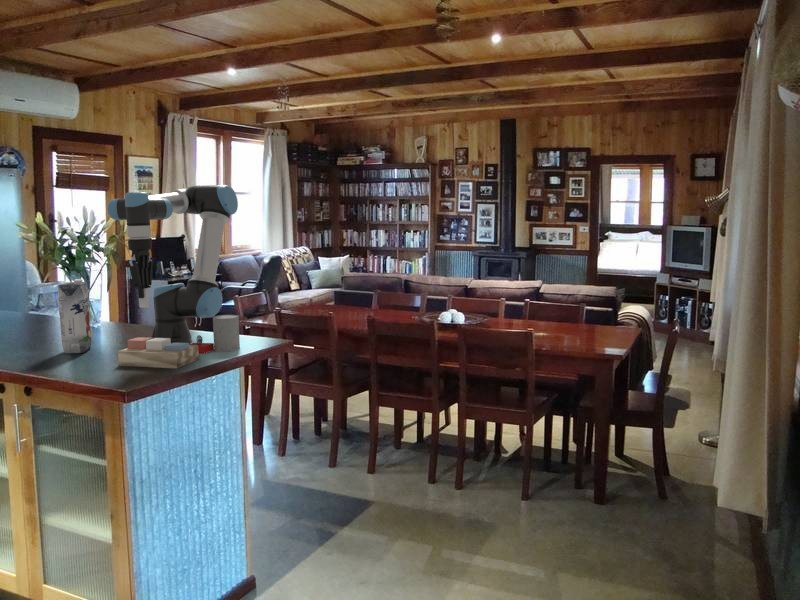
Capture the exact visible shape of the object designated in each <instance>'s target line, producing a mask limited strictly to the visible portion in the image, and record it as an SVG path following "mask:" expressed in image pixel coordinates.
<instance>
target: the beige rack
mask: <svg viewBox="0 0 800 600" xmlns="http://www.w3.org/2000/svg"><path fill="white" fill-rule="evenodd" d="M199 355H200V353H198V345H189V348H188V349H185V350H183V351H165V349H164V350H146V349H128V347H127V348H124V349H120V350H118V351H117V356H118V366H119V367H140V368H142V367H143V368H160V369H161V368H162V369H179V368H182V367H185V366H186V365H189V364H192V363H194V362H196V361H198V360H199V359H200V358H199Z"/></svg>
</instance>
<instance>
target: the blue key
mask: <svg viewBox="0 0 800 600" xmlns="http://www.w3.org/2000/svg"><path fill="white" fill-rule="evenodd" d="M189 344H190V342H189V343H171V344H168V345H165V351H183V350H185V349H188V348H189Z"/></svg>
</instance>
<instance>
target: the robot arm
mask: <svg viewBox="0 0 800 600" xmlns="http://www.w3.org/2000/svg"><path fill="white" fill-rule="evenodd" d="M238 207H239V202H238V197H237V194H236V192H235V190H234V189H233V187H231V186H230V185H227V184H213V185H212V184H209V185H208V184H207V185H206V184H205V185H193V186H188V187H183V188H178V189H173V190H171V191H170V192H167V193H160V194H151V195H149V193H148V192H146V191H142V192H140V191H134V192H126V193H125V194H124V198H119V197H118V198H113V199H110V201H109V202H108V204H107V213H108V216H109V217H110V219H112V220H115V221H126V231H127V233H126V234H127V238H129V239H128V240H127V247H128V248H127V249H128V251H131V259H128V260H127V261H126V262H127V265H128V267H129V271H130V272H129V273H130V275H131V276H130V277H131V281H132V285H133V288H134V289H135V290H136V289H137V294H138V307H139V308H141V309H142V308H143V309H144V308H146V309H147V308H150V304H149V303H150V302H149V288H151V287H152V282H153V269H154V268H153V266H154V261H155V258H154V257H152V256H150V254H151V253H150V250H152V248H153V246H152V245H153V243H152V239H151V237H152V231H151V230H152V229H151V228H152V227H151V221H155V220H160V221H163V220H167V219H169V218H170V217H172V215H173V213H174V214H178V215H183V214H191V215H199V217H200V218H201V219H202V222H201V228H200V234H199V239H198V246H197V252H196V256H195V263H194V266H193V267H194V268H193V274H192V277H191V278H190V279H188V280H187V286H185V284H184V283H183V282H177V283H172V284H165V285H159V286H155V288H154V289H153V297H152V299H153V307H154V308H153V309H154V327H153V331H152V335H151V338H152V339H154V338H170V339H171V343H189V344H190V343H192V340H193V339H192V334H191V331H190V328H189V325H188V323H187V318H200V319H206V318H212V317H214V316H217V314H218V313H219V312H220V310H221V308H222V305H223V299H224V298H223V293H222V291H221V290H220V288H219V284H218V282H217V281H216V277H217V272H218V266H219V262H220V261H219V260H220V256H221V248H222V242H223V237H224V230H225V226H226V225H225V224H227V223H228V222H229V221H230V219H231V218H230V217H231V215H235V214H236V213H237V211H238Z"/></svg>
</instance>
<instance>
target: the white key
mask: <svg viewBox="0 0 800 600" xmlns="http://www.w3.org/2000/svg"><path fill="white" fill-rule="evenodd" d="M168 344H171V339H170V338H154V339H150V340H147V341H146V350H164V349H165V345H168Z"/></svg>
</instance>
